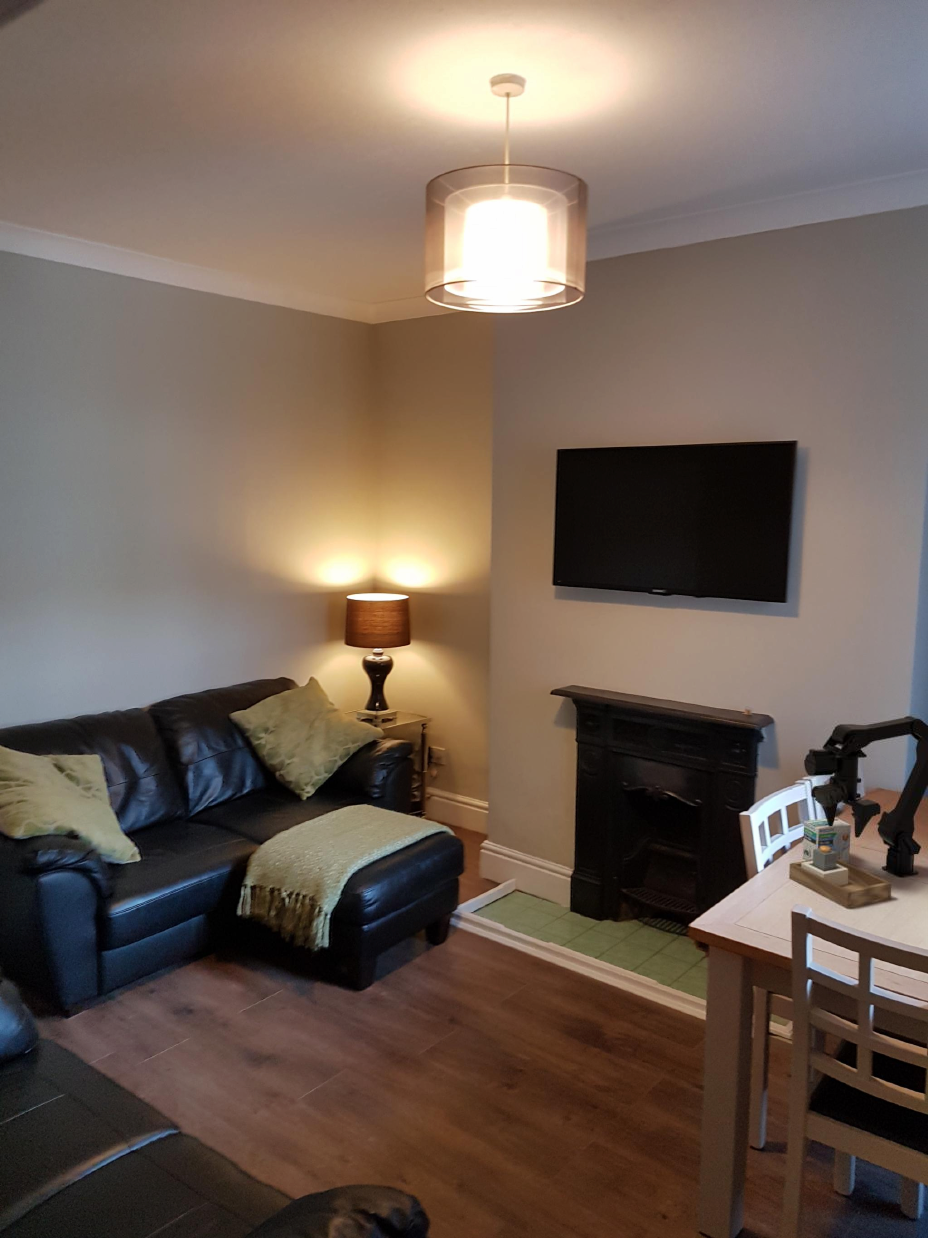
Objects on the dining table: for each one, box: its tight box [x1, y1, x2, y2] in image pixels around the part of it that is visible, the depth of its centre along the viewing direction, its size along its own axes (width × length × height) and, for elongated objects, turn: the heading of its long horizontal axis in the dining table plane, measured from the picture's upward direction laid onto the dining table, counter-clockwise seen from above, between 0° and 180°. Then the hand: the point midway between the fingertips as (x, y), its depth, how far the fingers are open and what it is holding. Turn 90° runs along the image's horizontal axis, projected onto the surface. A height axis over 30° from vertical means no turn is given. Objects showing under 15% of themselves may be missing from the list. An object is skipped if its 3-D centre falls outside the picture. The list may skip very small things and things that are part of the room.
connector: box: [813, 846, 837, 872], centre depth 236 cm, size 4×4×9 cm
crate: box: [788, 859, 892, 909], centre depth 233 cm, size 14×20×4 cm
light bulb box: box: [802, 816, 852, 864], centre depth 251 cm, size 11×7×11 cm, turn 105°
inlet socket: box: [801, 861, 848, 886], centre depth 236 cm, size 8×8×4 cm
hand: (843, 831), depth 240 cm, fingers open, 9 cm apart
